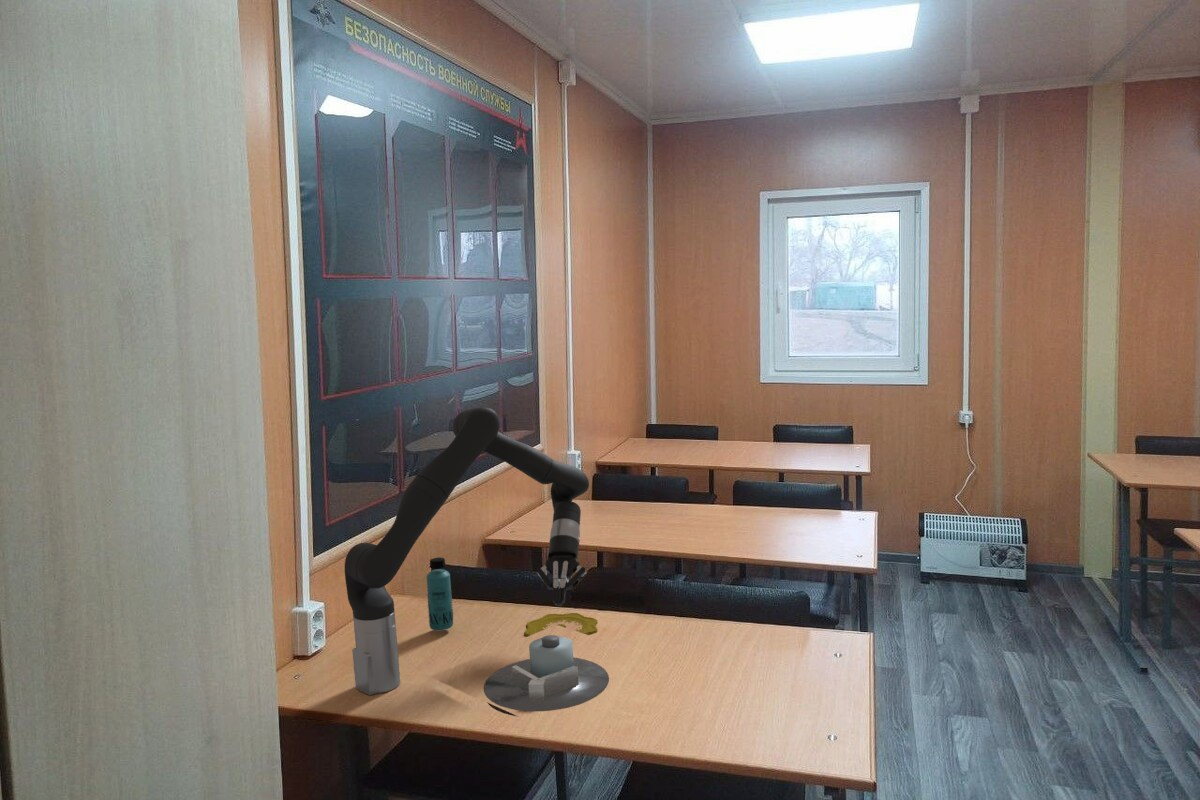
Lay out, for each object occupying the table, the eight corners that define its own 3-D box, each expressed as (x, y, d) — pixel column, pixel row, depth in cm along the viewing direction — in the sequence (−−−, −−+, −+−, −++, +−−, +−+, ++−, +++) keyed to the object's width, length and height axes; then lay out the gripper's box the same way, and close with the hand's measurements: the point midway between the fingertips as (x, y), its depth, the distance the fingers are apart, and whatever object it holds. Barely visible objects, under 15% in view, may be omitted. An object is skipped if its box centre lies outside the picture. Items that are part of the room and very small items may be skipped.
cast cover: (551, 682, 198) (549, 650, 197) (521, 671, 205) (519, 640, 204) (582, 667, 205) (581, 636, 204) (553, 657, 212) (551, 627, 211)
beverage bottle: (427, 630, 238) (421, 557, 236) (451, 625, 241) (445, 553, 238) (433, 638, 232) (427, 564, 230) (457, 632, 235) (452, 559, 232)
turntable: (502, 661, 214) (500, 639, 214) (616, 662, 210) (615, 640, 210) (468, 716, 187) (466, 691, 186) (599, 719, 183) (598, 693, 182)
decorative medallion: (598, 614, 244) (598, 609, 244) (597, 642, 225) (597, 636, 224) (527, 617, 244) (527, 612, 244) (520, 645, 225) (520, 640, 225)
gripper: (536, 534, 223) (528, 598, 212) (587, 533, 221) (582, 597, 210) (541, 548, 229) (534, 611, 218) (592, 547, 227) (587, 611, 216)
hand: (558, 604), depth 214 cm, fingers closed
